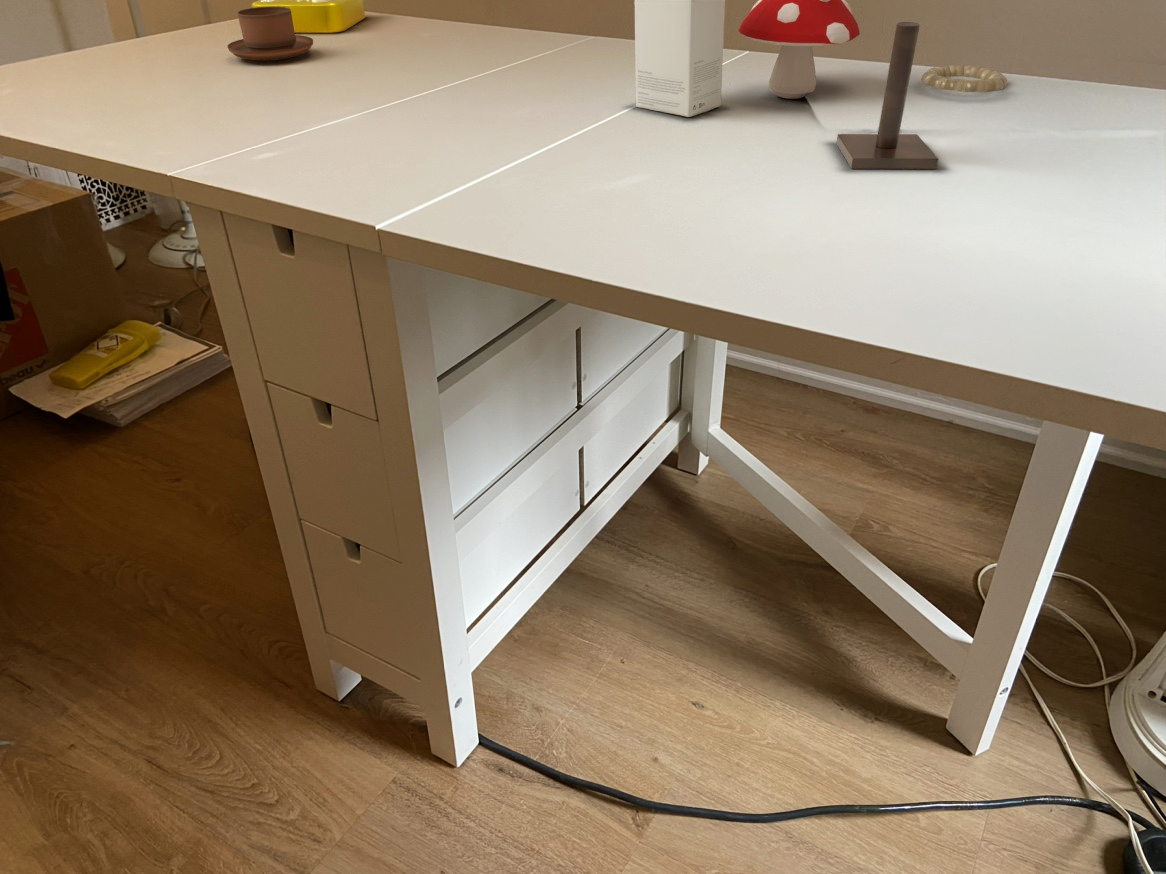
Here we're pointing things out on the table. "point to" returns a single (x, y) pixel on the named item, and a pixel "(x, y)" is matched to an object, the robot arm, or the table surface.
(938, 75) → the ribbed beige ring
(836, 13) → the decorative mushroom
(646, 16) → the cosmetic box
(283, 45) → the cup and saucer
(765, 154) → the table surface
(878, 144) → the peg
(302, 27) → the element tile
